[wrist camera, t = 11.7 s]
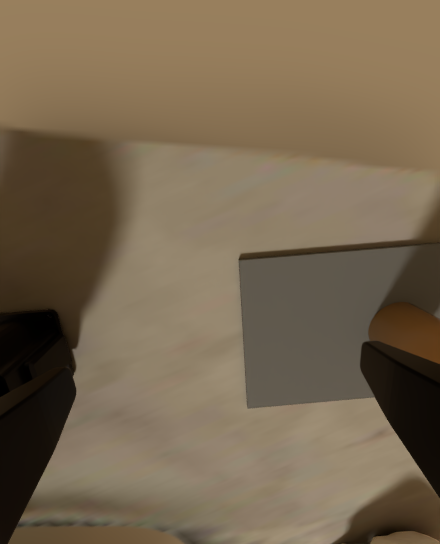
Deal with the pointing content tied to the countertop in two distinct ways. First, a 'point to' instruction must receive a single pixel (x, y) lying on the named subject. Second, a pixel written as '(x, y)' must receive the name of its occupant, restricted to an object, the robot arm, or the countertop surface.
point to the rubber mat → (324, 317)
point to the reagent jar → (407, 330)
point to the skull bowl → (404, 538)
